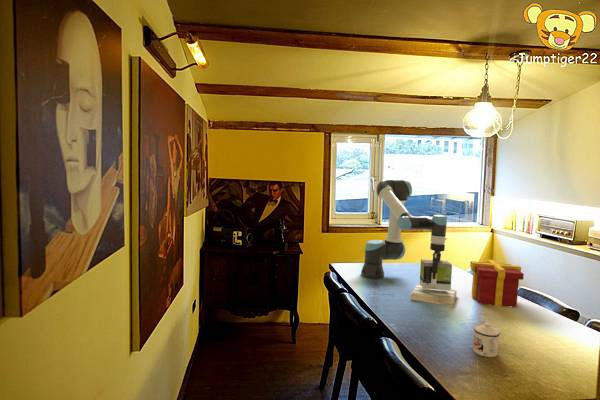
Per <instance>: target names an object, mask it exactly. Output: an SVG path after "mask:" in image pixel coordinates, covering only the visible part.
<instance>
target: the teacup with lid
mask: <svg viewBox="0 0 600 400" xmlns="http://www.w3.org/2000/svg"><path fill="white" fill-rule="evenodd" d="M473 330H474V334H473V335H474V336H473V346H472V347H473V348H472V350H473V351H474V353H475V354H477V355H479V356H482V357H485V358H496V357H497V355H498V353H499V339H500V331H499V330H498V329H497V328H495V327H493V326H491V324H490V323H489V322H485V323H484V324H481V325H476V326H475V327H474V328H473Z"/></svg>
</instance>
